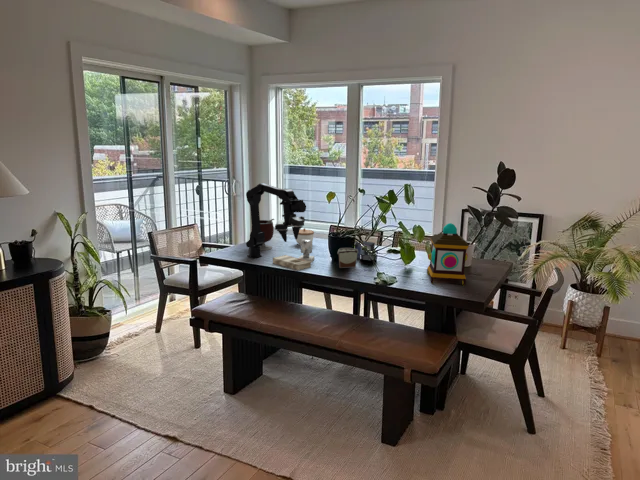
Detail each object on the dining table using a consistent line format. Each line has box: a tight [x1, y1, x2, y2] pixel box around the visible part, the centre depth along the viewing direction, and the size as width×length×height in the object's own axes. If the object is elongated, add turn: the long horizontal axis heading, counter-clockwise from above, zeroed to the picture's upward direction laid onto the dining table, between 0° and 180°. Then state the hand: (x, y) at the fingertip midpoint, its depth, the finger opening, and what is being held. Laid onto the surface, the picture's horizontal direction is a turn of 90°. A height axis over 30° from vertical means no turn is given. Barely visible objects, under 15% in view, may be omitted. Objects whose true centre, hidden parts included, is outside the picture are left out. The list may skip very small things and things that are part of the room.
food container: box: [336, 247, 359, 269], centre depth 268 cm, size 12×6×10 cm, turn 108°
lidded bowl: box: [295, 228, 315, 247], centre depth 317 cm, size 13×13×11 cm
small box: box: [354, 240, 376, 261], centre depth 284 cm, size 11×6×10 cm, turn 62°
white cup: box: [300, 239, 313, 258], centre depth 277 cm, size 7×7×10 cm
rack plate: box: [272, 254, 312, 271], centre depth 268 cm, size 20×10×3 cm, turn 49°
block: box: [298, 254, 315, 264], centre depth 278 cm, size 8×8×2 cm
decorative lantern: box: [426, 222, 469, 286], centre depth 246 cm, size 20×20×30 cm
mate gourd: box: [259, 218, 275, 251], centre depth 303 cm, size 16×14×20 cm
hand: (291, 240), depth 265 cm, fingers open, 9 cm apart
